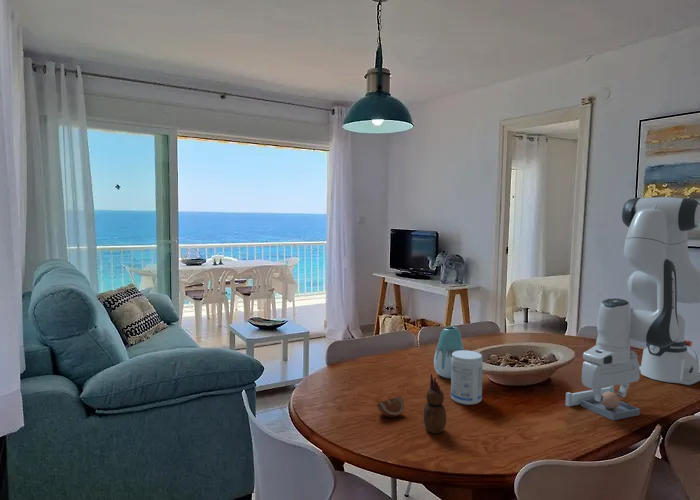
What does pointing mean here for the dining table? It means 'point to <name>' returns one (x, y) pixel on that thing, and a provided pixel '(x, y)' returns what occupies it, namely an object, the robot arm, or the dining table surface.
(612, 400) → the ball
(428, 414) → the wooden figurine
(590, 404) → the dish
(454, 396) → the supplement tub
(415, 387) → the dining table surface
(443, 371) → the vase
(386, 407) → the fruit slice
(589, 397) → the wall
